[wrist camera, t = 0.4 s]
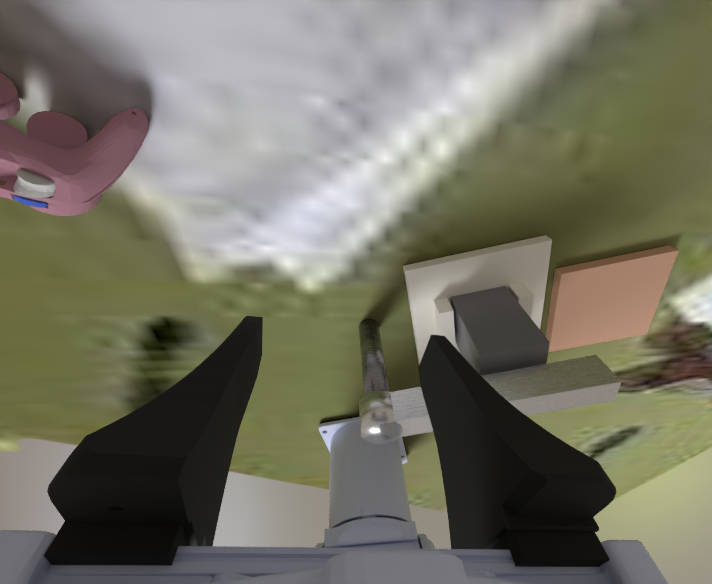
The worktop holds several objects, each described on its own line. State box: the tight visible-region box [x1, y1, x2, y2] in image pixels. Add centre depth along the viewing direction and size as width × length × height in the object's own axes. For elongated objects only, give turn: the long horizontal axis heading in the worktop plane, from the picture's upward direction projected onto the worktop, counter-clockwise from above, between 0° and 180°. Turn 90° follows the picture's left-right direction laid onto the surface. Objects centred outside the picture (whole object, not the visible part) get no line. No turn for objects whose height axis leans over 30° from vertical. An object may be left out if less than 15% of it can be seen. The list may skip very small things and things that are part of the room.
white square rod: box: [359, 355, 621, 444], centre depth 19 cm, size 2×14×2 cm, turn 103°
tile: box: [545, 245, 679, 352], centre depth 26 cm, size 8×8×1 cm
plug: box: [450, 286, 550, 376], centre depth 22 cm, size 4×4×6 cm
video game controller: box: [0, 73, 149, 216], centre depth 15 cm, size 10×5×7 cm, turn 51°
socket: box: [359, 235, 552, 394], centre depth 23 cm, size 10×14×7 cm
